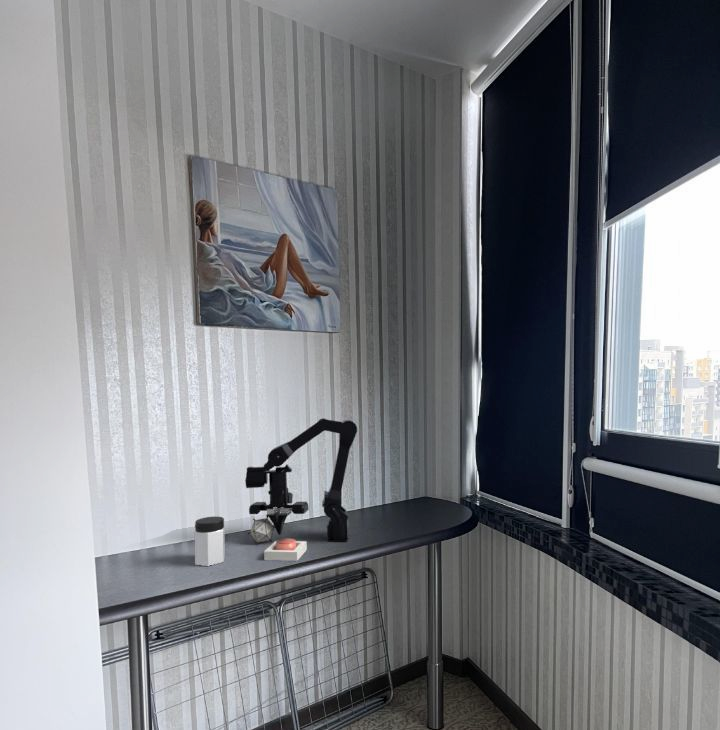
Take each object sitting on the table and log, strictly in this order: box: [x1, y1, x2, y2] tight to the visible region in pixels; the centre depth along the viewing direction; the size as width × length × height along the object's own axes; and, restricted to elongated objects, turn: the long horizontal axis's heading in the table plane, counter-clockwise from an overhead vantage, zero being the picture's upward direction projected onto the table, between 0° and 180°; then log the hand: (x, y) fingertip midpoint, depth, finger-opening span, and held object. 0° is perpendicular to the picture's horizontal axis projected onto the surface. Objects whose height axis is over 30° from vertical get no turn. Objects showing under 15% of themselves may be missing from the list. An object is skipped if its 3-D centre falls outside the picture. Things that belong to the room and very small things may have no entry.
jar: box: [194, 516, 226, 567], centre depth 137 cm, size 9×8×12 cm
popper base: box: [263, 540, 308, 562], centre depth 140 cm, size 10×10×2 cm
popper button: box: [275, 537, 297, 550], centre depth 140 cm, size 6×6×4 cm
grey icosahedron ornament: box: [247, 517, 275, 546], centre depth 153 cm, size 9×8×10 cm
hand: (279, 534), depth 152 cm, fingers closed
